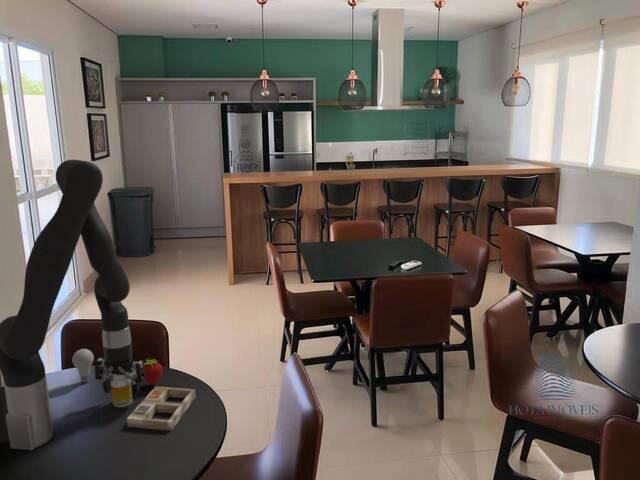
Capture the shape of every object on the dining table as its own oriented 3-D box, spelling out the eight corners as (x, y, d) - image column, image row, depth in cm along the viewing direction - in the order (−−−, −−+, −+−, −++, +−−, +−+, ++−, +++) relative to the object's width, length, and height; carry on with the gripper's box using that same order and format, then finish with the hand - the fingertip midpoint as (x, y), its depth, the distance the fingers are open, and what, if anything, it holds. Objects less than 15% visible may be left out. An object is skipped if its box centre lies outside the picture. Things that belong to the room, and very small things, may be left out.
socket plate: (171, 430, 139) (170, 421, 138) (127, 426, 141) (126, 417, 140) (195, 396, 156) (195, 388, 155) (156, 393, 158) (155, 385, 157)
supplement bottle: (131, 406, 151) (128, 376, 148) (111, 408, 150) (108, 378, 147) (133, 397, 156) (130, 367, 154) (114, 399, 155) (111, 369, 152)
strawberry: (154, 392, 158) (151, 362, 156) (136, 386, 162) (134, 357, 159) (168, 384, 163) (166, 355, 161) (151, 378, 167) (148, 350, 165)
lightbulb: (81, 388, 161) (77, 355, 158) (71, 382, 164) (67, 350, 162) (99, 380, 165) (96, 349, 163) (89, 375, 169) (86, 344, 166)
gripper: (86, 345, 146) (92, 398, 149) (134, 349, 144) (138, 401, 147) (101, 335, 153) (106, 385, 157) (146, 337, 151) (150, 388, 155)
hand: (121, 393), depth 152 cm, fingers open, 8 cm apart
